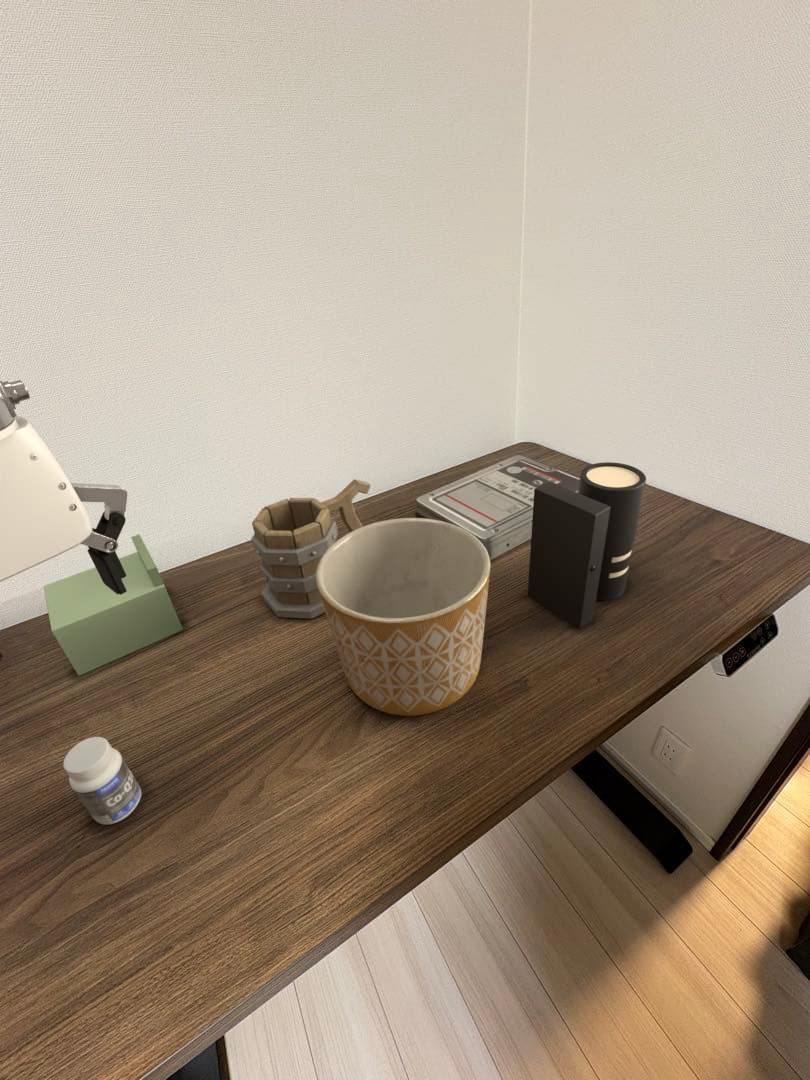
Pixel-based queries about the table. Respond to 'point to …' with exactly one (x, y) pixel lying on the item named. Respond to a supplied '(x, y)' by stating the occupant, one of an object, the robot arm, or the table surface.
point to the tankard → (299, 548)
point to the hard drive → (494, 501)
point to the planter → (407, 611)
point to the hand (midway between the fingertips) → (58, 618)
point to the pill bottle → (102, 780)
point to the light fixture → (584, 540)
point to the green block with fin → (110, 612)
